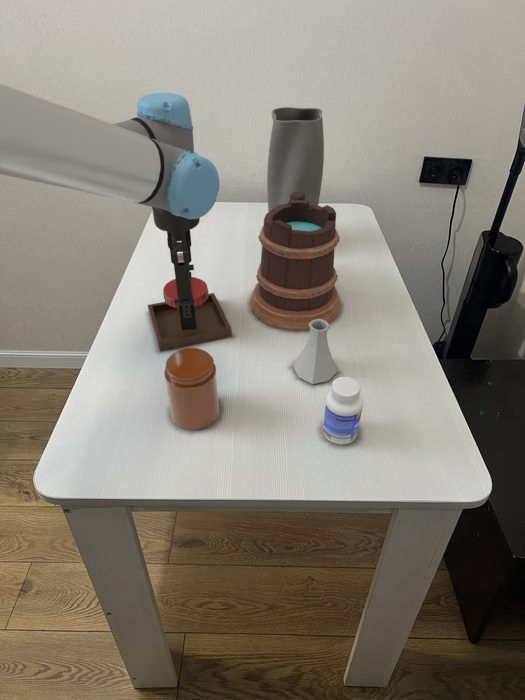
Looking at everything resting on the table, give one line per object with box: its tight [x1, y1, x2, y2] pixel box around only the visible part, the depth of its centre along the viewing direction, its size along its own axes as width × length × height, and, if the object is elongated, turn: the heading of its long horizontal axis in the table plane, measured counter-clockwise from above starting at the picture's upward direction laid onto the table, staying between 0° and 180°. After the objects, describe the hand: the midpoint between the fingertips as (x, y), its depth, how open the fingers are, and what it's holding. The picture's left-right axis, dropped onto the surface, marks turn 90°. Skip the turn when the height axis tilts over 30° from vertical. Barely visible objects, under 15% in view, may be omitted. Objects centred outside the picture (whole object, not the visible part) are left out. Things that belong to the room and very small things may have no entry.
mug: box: [249, 192, 341, 332], centre depth 96 cm, size 18×23×20 cm
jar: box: [163, 347, 220, 431], centre depth 74 cm, size 8×8×10 cm
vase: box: [266, 106, 325, 213], centre depth 111 cm, size 12×12×30 cm
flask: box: [292, 319, 338, 385], centre depth 82 cm, size 7×7×10 cm
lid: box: [162, 276, 209, 309], centre depth 91 cm, size 8×8×2 cm
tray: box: [147, 292, 232, 352], centre depth 95 cm, size 14×13×2 cm
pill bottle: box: [321, 376, 364, 445], centre depth 72 cm, size 5×5×10 cm
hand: (188, 314), depth 94 cm, fingers closed on lid, 8 cm apart
